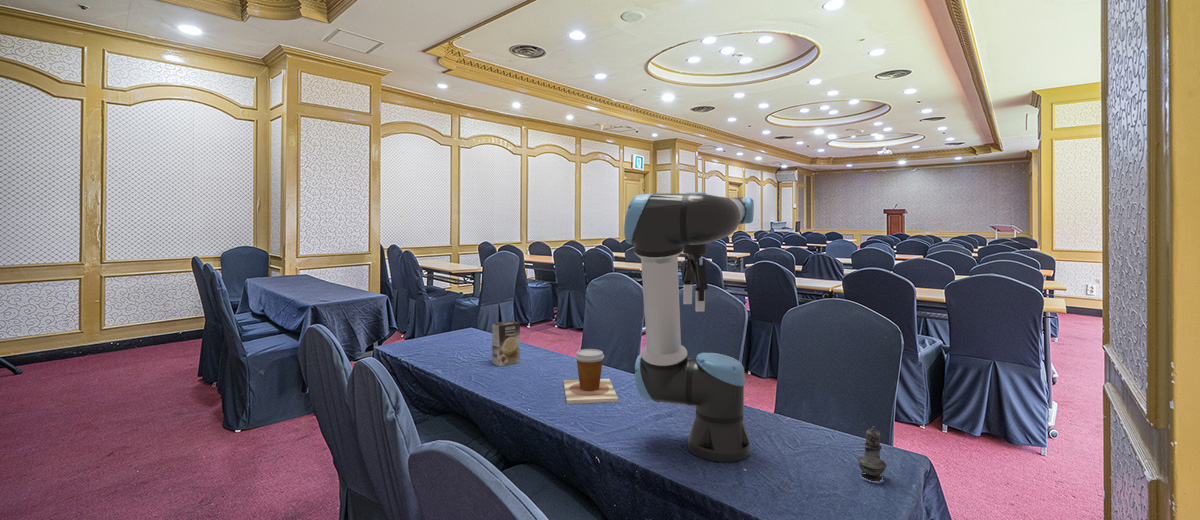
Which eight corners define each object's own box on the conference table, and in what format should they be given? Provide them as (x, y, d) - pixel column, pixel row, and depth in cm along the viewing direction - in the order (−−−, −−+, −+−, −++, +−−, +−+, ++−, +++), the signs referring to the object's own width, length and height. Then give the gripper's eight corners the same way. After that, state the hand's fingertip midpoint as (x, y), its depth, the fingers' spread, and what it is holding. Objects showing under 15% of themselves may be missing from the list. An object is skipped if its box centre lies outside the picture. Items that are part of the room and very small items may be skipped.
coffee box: (500, 367, 205) (499, 325, 204) (491, 363, 210) (491, 323, 209) (520, 362, 211) (520, 322, 210) (512, 359, 216) (511, 320, 215)
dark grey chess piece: (853, 478, 119) (856, 426, 118) (859, 468, 124) (862, 418, 123) (883, 487, 116) (885, 433, 115) (888, 476, 120) (890, 424, 119)
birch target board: (617, 401, 167) (617, 397, 167) (566, 403, 166) (566, 399, 165) (609, 382, 187) (609, 378, 187) (563, 383, 185) (563, 379, 185)
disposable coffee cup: (600, 393, 171) (601, 356, 170) (571, 391, 173) (571, 355, 172) (606, 384, 180) (606, 349, 179) (579, 382, 182) (579, 347, 181)
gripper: (719, 243, 158) (717, 314, 160) (694, 239, 183) (693, 301, 185) (694, 243, 157) (693, 314, 159) (673, 239, 182) (672, 301, 184)
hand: (693, 307), depth 172 cm, fingers open, 13 cm apart
